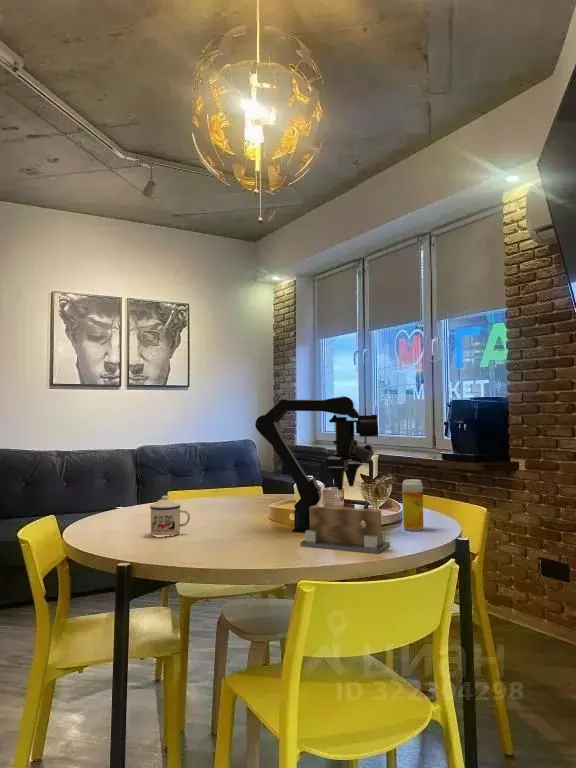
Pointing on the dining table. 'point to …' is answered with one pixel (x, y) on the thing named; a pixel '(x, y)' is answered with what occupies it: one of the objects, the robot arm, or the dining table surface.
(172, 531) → the teacup with lid
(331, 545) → the rail
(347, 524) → the walnut door
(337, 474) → the robot arm
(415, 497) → the beer can
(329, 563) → the dining table surface
